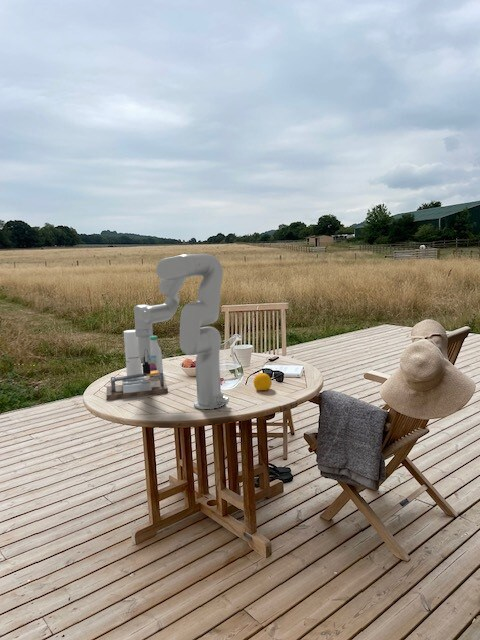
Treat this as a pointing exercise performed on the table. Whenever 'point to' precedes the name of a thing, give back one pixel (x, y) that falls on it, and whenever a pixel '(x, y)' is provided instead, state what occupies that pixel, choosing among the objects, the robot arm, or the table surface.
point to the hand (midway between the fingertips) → (146, 372)
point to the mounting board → (119, 392)
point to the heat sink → (137, 384)
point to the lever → (137, 375)
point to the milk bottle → (155, 355)
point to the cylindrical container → (132, 353)
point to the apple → (262, 381)
